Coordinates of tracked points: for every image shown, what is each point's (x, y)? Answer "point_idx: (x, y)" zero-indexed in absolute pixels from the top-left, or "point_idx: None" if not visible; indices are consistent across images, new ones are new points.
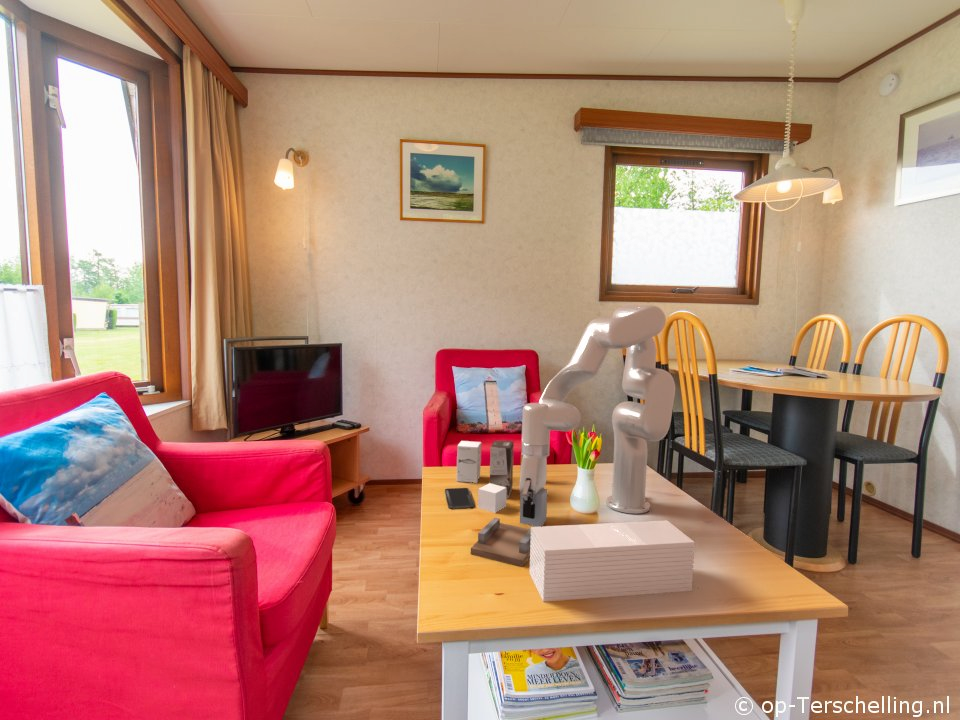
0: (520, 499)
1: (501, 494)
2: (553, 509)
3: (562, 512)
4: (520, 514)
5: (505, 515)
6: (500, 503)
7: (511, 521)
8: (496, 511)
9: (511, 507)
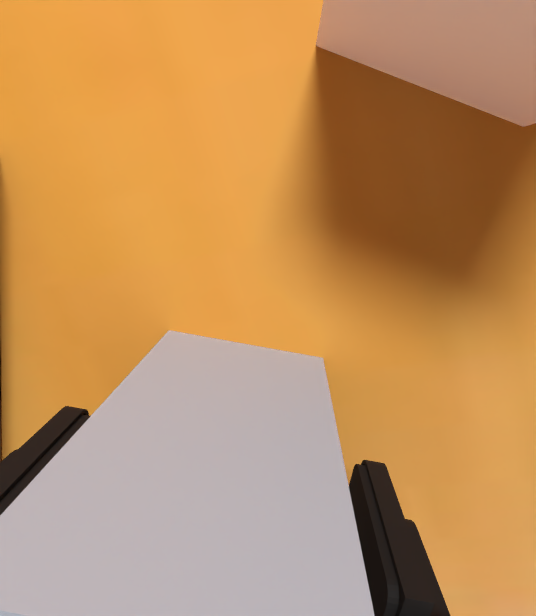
0: (48, 463)
1: (527, 16)
2: (526, 545)
3: (475, 603)
4: (139, 366)
5: (292, 172)
6: (440, 59)
7: (178, 256)
8: (343, 51)
9: (513, 190)
